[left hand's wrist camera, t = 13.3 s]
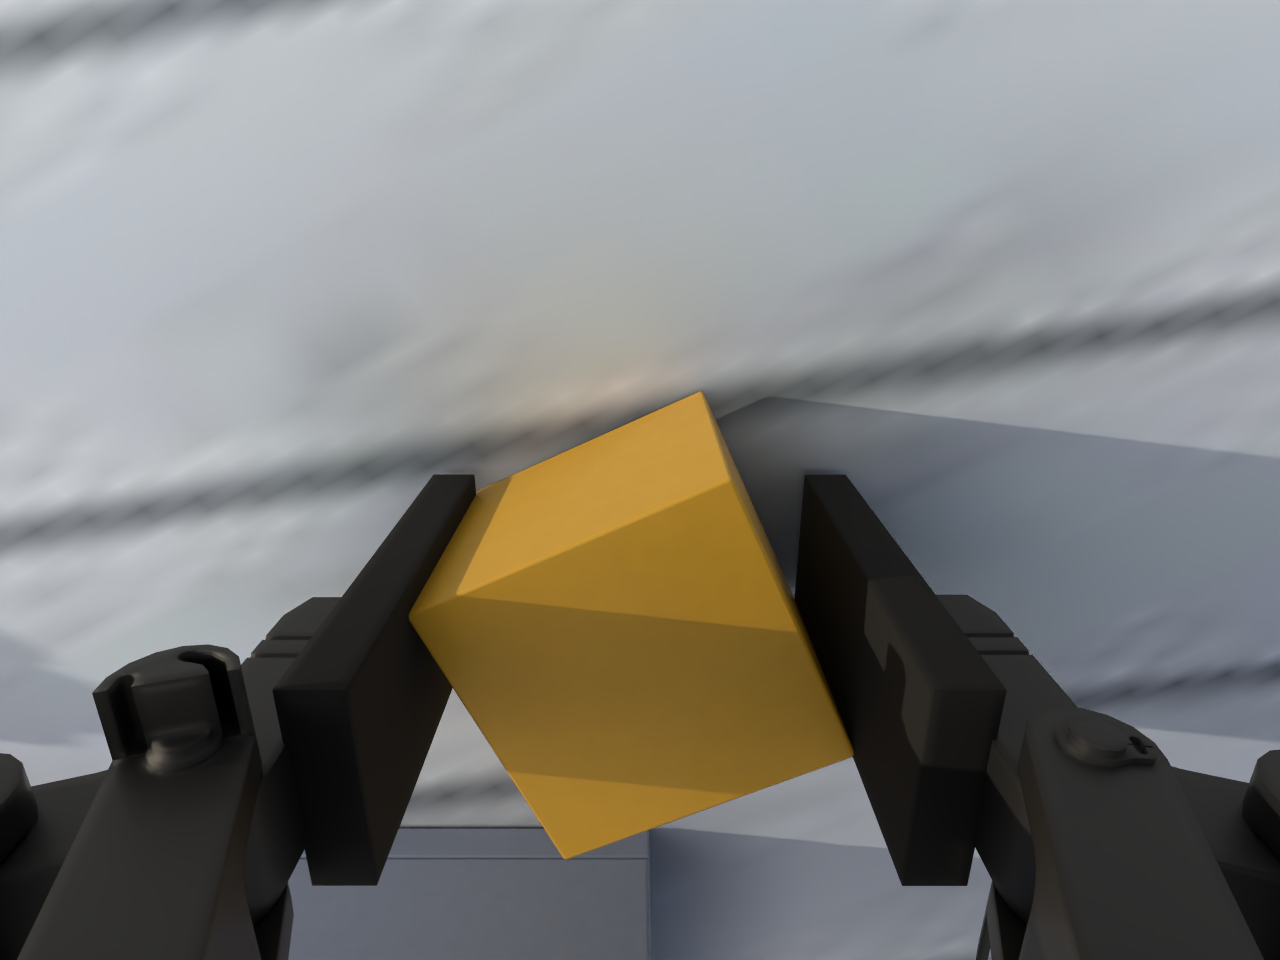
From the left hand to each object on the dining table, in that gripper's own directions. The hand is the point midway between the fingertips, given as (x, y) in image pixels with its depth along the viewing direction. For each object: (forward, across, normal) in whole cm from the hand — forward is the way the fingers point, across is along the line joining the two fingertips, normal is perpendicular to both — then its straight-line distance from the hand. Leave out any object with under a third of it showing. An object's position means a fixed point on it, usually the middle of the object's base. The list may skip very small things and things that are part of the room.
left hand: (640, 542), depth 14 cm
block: (0, 0, 0) cm, 0 cm away
